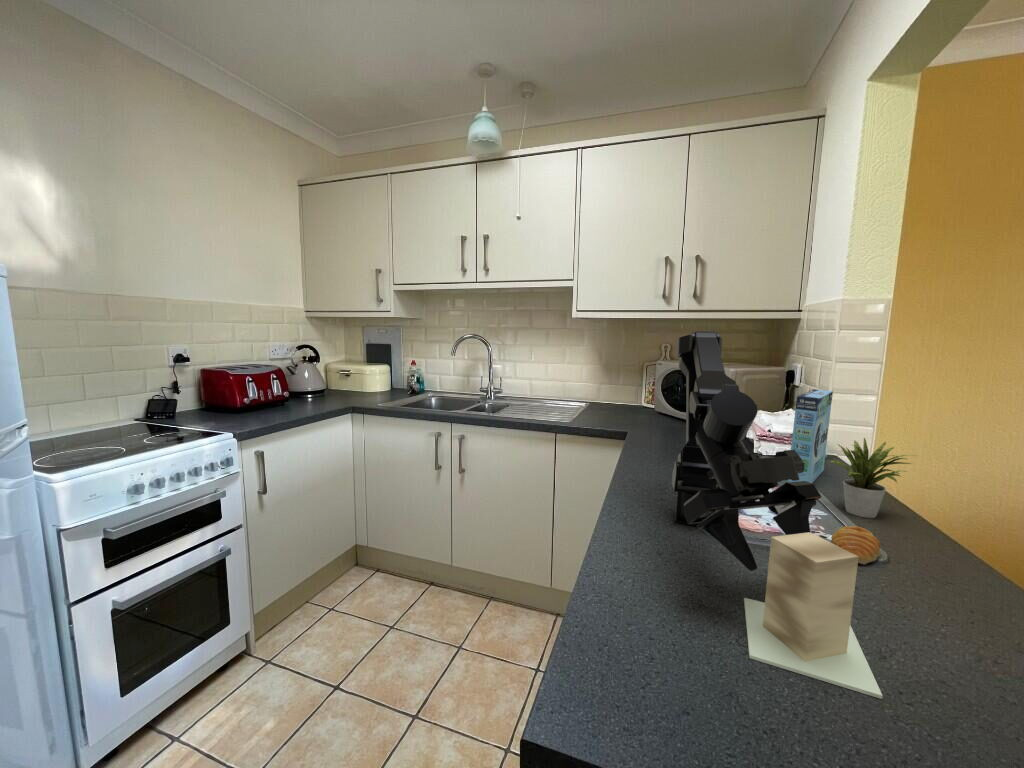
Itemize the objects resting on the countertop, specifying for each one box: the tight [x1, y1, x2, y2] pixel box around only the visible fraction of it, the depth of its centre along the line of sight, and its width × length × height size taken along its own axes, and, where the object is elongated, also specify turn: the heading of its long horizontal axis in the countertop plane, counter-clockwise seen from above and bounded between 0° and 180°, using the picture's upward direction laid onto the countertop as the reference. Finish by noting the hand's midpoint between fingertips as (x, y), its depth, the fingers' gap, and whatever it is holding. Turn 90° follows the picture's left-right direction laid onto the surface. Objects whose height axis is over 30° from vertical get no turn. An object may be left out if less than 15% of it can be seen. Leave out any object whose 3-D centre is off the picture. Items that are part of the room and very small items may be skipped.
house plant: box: [829, 437, 920, 519], centre depth 88 cm, size 14×14×16 cm
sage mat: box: [743, 597, 883, 700], centre depth 51 cm, size 12×12×1 cm
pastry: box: [830, 525, 882, 565], centre depth 73 cm, size 9×7×4 cm
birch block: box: [763, 531, 859, 662], centre depth 51 cm, size 6×6×12 cm
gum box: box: [786, 388, 834, 484], centre depth 112 cm, size 20×5×23 cm, turn 134°
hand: (783, 565), depth 54 cm, fingers open, 9 cm apart
